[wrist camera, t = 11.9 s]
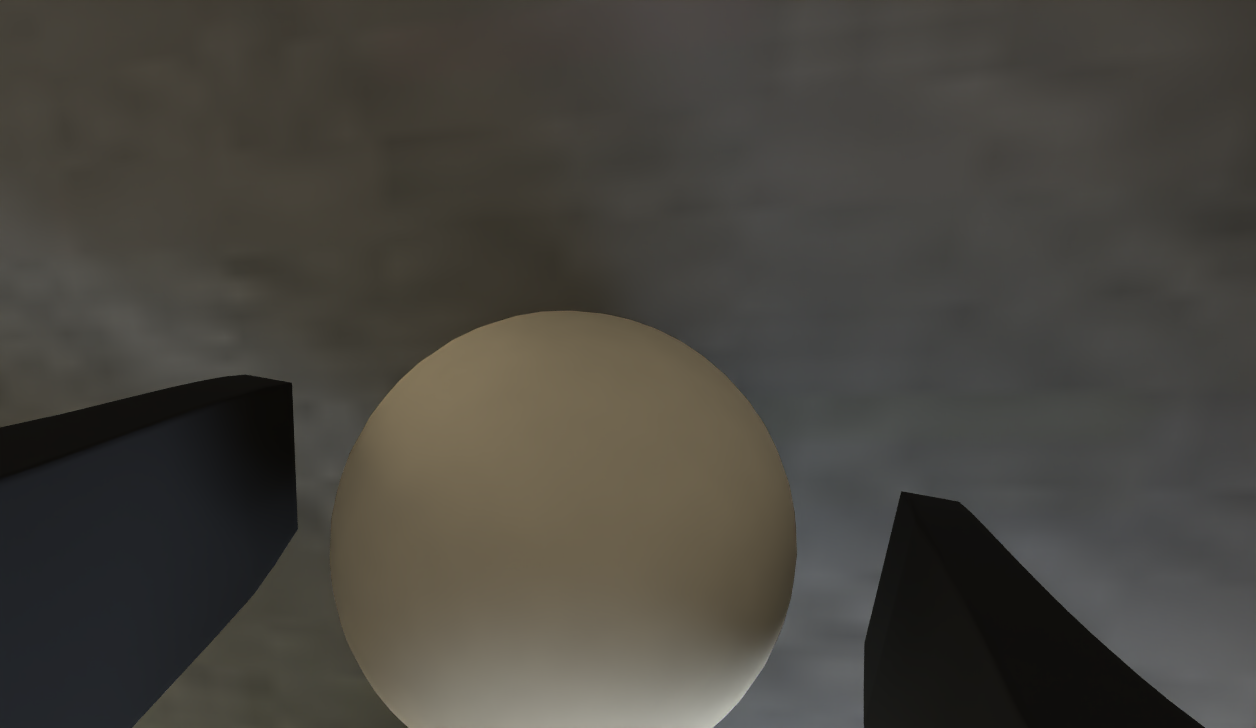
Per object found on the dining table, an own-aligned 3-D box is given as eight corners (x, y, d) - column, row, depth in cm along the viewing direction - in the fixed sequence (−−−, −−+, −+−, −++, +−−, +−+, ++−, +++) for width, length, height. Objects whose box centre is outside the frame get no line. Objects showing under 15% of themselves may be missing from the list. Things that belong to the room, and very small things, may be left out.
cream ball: (566, 179, 11) (397, 295, 7) (883, 422, 12) (924, 690, 7) (375, 454, 13) (144, 689, 9) (651, 656, 14) (566, 984, 9)
